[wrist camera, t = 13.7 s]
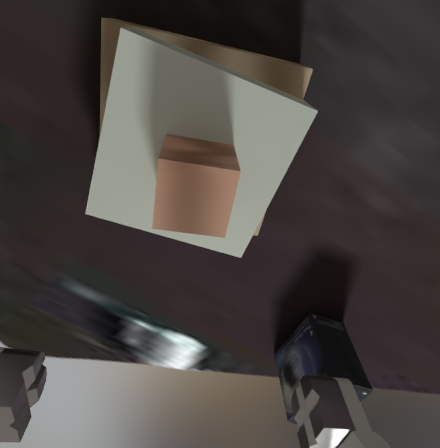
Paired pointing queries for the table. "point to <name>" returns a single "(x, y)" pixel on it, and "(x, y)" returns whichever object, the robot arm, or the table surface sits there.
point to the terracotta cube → (195, 186)
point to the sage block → (190, 134)
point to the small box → (318, 357)
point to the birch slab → (224, 55)
